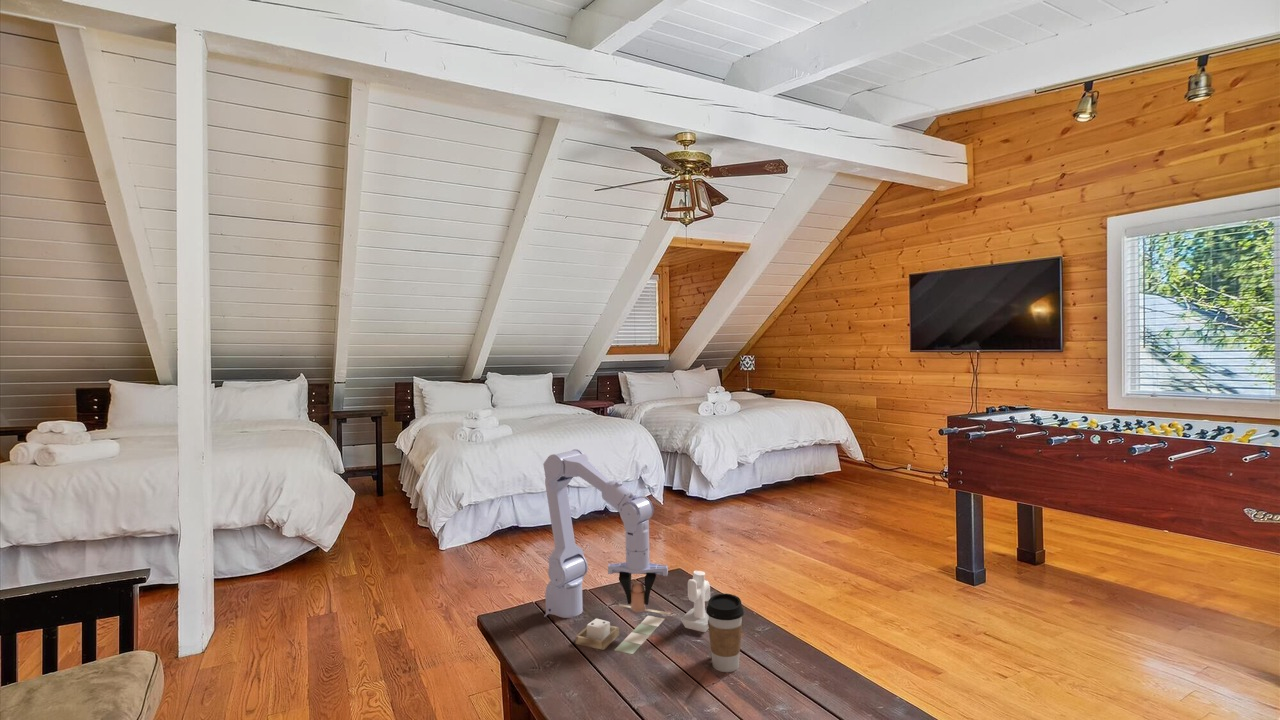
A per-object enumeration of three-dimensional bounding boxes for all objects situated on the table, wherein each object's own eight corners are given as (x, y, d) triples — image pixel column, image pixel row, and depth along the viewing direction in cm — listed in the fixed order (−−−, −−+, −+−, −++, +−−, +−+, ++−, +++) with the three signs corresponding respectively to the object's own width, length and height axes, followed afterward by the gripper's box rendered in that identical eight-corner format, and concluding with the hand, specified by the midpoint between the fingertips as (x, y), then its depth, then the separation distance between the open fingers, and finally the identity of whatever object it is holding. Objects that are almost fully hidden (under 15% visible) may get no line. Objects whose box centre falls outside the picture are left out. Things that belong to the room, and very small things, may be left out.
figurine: (720, 625, 167) (719, 568, 167) (704, 641, 159) (704, 581, 158) (694, 619, 171) (693, 563, 170) (678, 634, 163) (677, 575, 162)
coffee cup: (747, 659, 151) (746, 595, 150) (740, 678, 143) (740, 610, 142) (711, 653, 153) (710, 591, 152) (702, 672, 145) (702, 605, 145)
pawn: (629, 611, 159) (628, 584, 158) (633, 604, 162) (632, 578, 162) (643, 612, 158) (642, 585, 157) (647, 606, 161) (646, 579, 161)
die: (587, 640, 159) (586, 624, 158) (596, 634, 162) (596, 618, 162) (600, 644, 156) (600, 628, 156) (610, 637, 160) (609, 621, 160)
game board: (572, 651, 156) (571, 638, 156) (620, 607, 179) (619, 596, 179) (629, 663, 150) (628, 650, 149) (671, 616, 173) (670, 605, 173)
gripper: (668, 543, 162) (669, 597, 163) (611, 541, 164) (612, 594, 165) (666, 553, 155) (666, 609, 156) (605, 551, 157) (606, 606, 158)
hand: (638, 602), depth 160 cm, fingers closed on pawn, 4 cm apart
